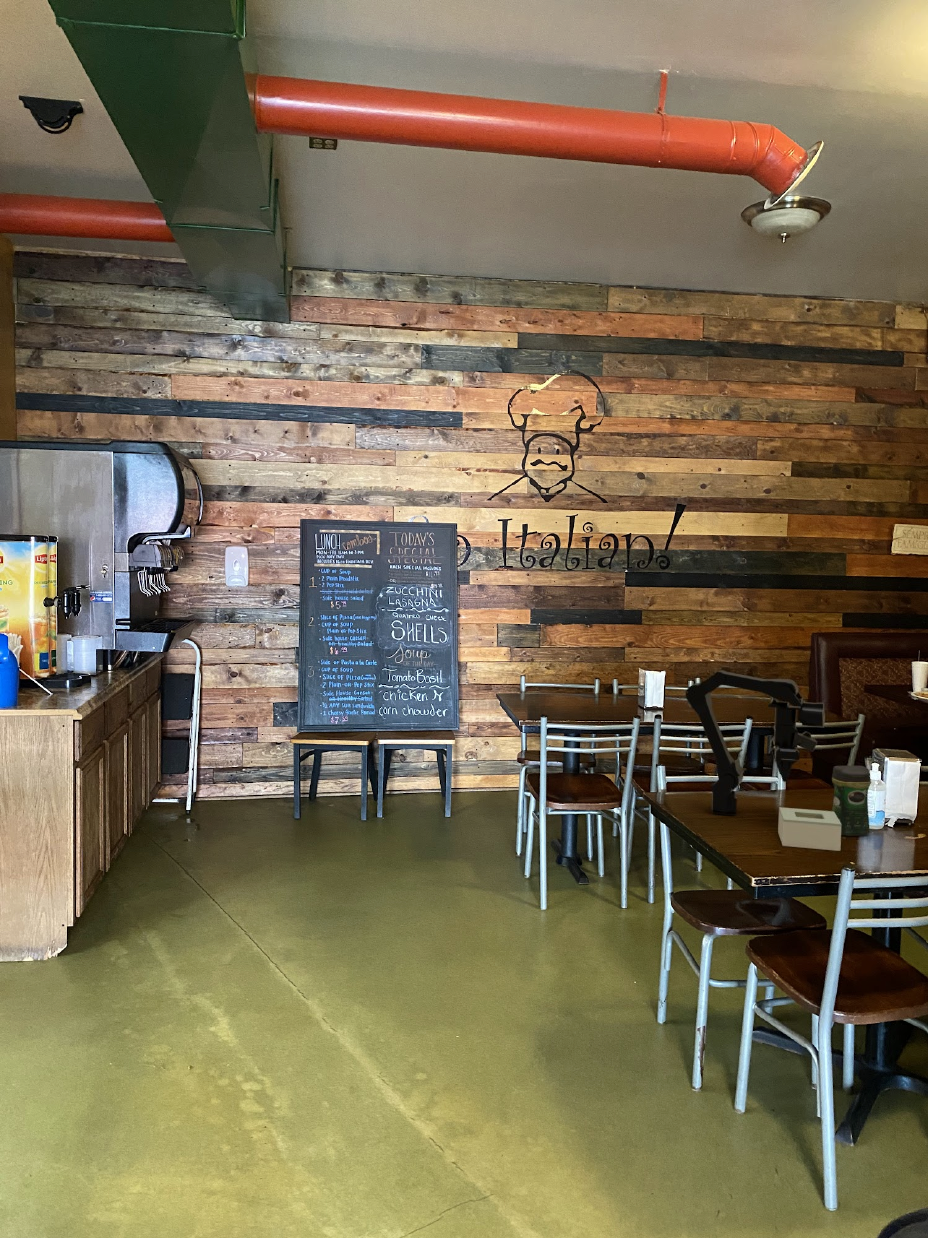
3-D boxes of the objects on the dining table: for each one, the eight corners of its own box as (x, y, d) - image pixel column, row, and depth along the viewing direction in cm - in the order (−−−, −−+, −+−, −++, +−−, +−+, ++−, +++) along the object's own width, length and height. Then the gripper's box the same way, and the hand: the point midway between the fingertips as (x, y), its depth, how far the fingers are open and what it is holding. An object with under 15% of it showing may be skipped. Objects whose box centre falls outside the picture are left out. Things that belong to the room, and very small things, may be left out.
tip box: (782, 845, 228) (783, 819, 227) (778, 832, 239) (779, 807, 239) (840, 851, 224) (841, 824, 224) (832, 837, 236) (834, 811, 235)
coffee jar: (859, 828, 244) (862, 763, 243) (873, 837, 236) (876, 769, 235) (825, 828, 244) (828, 762, 243) (838, 836, 236) (840, 769, 235)
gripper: (820, 731, 238) (817, 788, 239) (811, 720, 256) (809, 772, 257) (777, 729, 240) (774, 784, 241) (770, 717, 258) (769, 770, 259)
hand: (783, 778), depth 250 cm, fingers open, 9 cm apart
